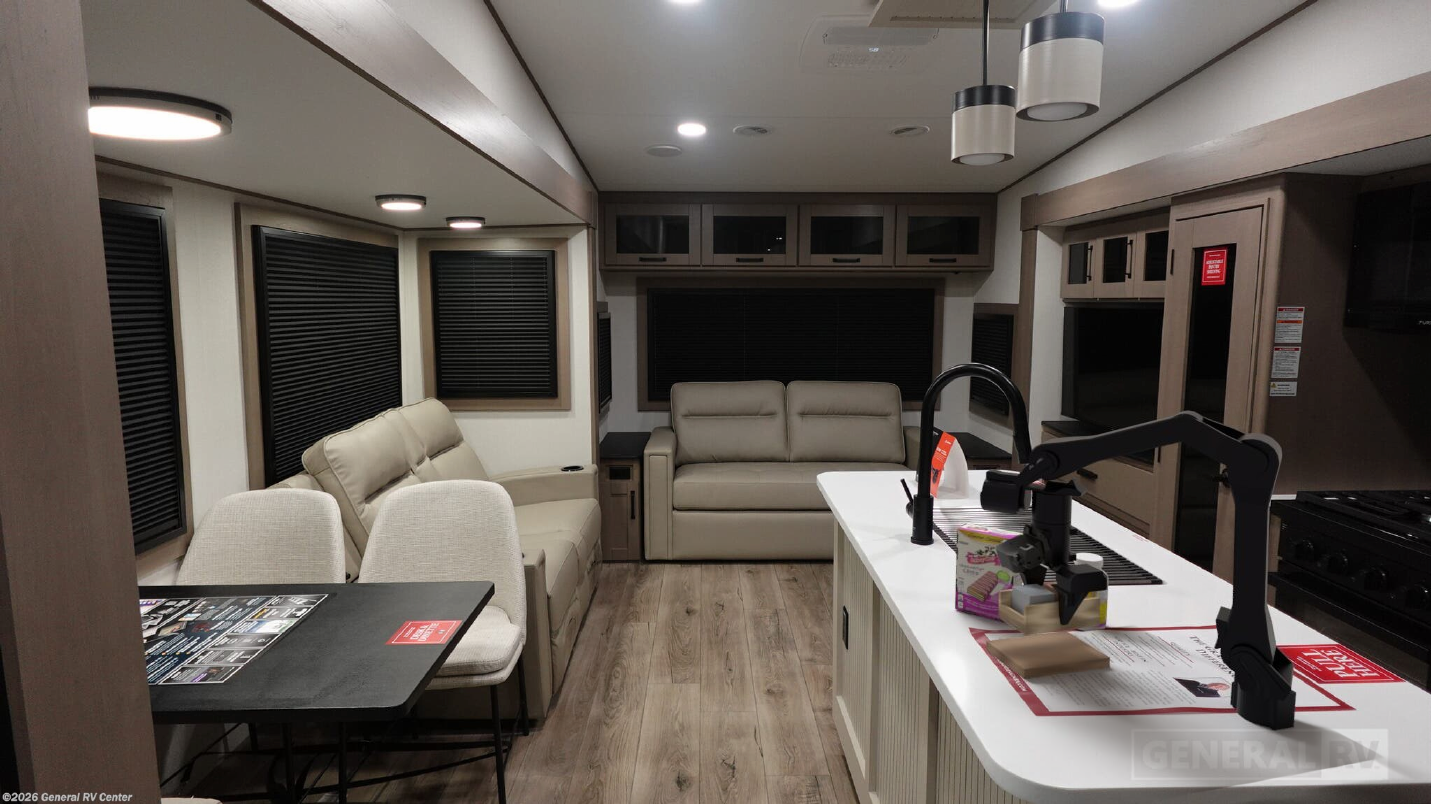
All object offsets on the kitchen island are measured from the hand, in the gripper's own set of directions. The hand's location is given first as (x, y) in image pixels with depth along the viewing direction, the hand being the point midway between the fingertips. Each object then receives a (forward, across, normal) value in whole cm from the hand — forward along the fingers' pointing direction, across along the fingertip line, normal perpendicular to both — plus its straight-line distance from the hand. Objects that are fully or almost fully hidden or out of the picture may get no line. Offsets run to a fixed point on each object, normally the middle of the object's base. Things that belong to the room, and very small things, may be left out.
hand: (1048, 615), depth 116 cm
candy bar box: (+9, -21, +3) cm, 23 cm away
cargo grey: (0, 0, -3) cm, 3 cm away
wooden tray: (+1, 0, 0) cm, 1 cm away
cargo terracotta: (0, 0, +3) cm, 3 cm away
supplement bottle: (+9, -12, +17) cm, 23 cm away
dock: (+9, 0, 0) cm, 9 cm away
